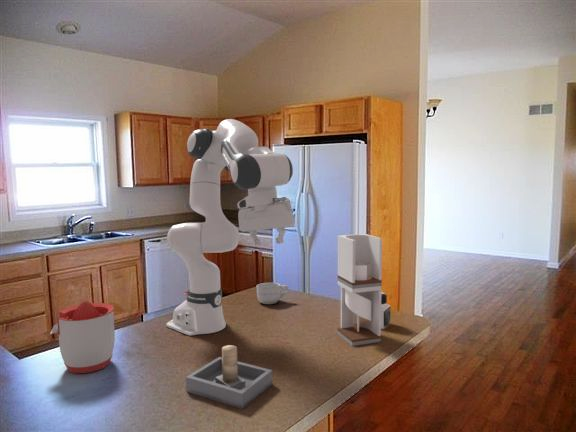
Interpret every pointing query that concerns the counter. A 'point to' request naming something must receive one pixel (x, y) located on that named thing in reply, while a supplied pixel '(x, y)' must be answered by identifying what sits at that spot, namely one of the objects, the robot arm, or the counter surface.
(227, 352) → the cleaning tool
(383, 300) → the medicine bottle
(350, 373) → the counter surface
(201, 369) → the tray
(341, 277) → the white miniature tower model
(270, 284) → the teacup
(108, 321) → the citrus juicer
